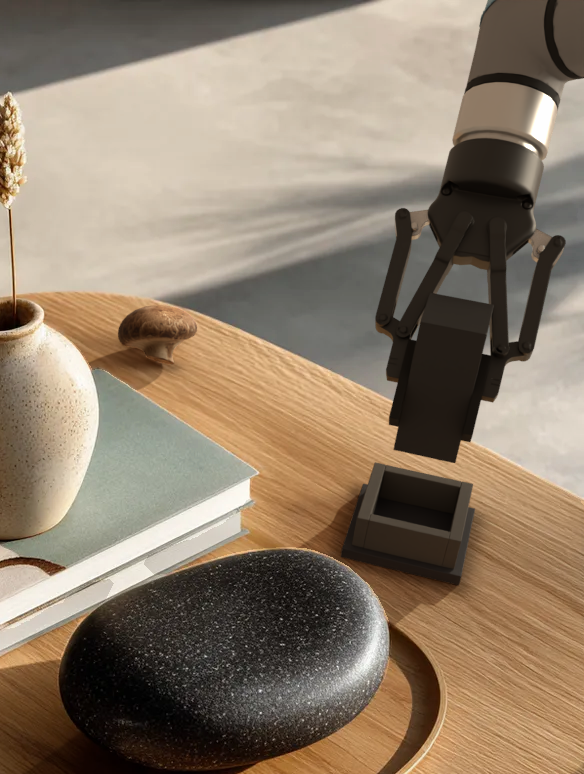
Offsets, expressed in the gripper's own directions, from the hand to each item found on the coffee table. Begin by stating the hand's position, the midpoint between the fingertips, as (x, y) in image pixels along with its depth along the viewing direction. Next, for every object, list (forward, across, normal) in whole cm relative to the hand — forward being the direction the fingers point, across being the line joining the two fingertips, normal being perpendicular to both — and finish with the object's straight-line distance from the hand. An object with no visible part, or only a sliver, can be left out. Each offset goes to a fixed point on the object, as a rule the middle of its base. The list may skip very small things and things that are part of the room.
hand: (430, 429), depth 105 cm
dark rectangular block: (0, 0, -5) cm, 5 cm away
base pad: (+7, 0, -12) cm, 14 cm away
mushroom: (-7, +29, -27) cm, 41 cm away
